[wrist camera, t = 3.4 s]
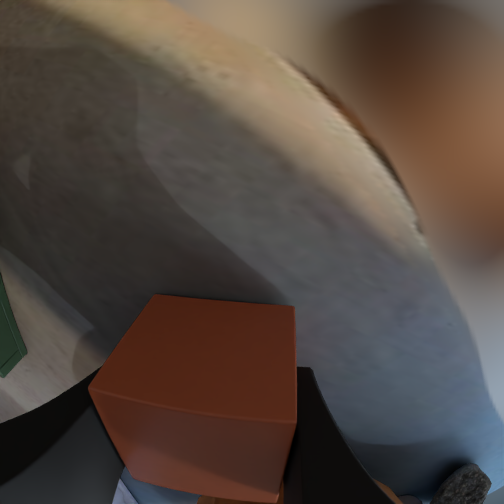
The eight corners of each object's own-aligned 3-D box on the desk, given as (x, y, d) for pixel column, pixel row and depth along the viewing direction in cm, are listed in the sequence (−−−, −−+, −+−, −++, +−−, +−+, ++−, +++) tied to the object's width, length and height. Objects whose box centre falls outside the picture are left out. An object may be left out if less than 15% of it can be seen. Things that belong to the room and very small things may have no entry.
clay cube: (282, 402, 11) (276, 503, 7) (169, 389, 11) (132, 479, 7) (295, 305, 9) (297, 422, 5) (154, 292, 10) (85, 387, 6)
